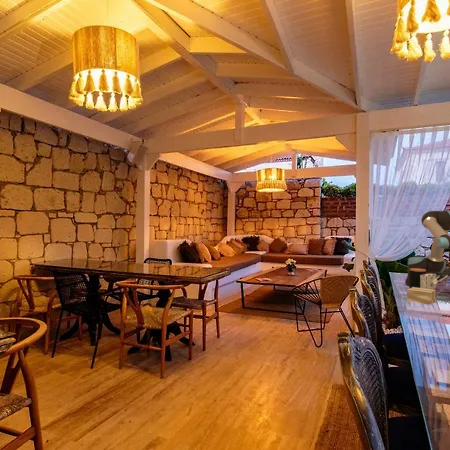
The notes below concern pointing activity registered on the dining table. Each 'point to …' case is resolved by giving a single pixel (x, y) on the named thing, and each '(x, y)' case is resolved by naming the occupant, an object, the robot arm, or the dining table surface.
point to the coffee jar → (415, 277)
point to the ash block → (421, 295)
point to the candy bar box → (427, 281)
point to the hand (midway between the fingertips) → (436, 281)
